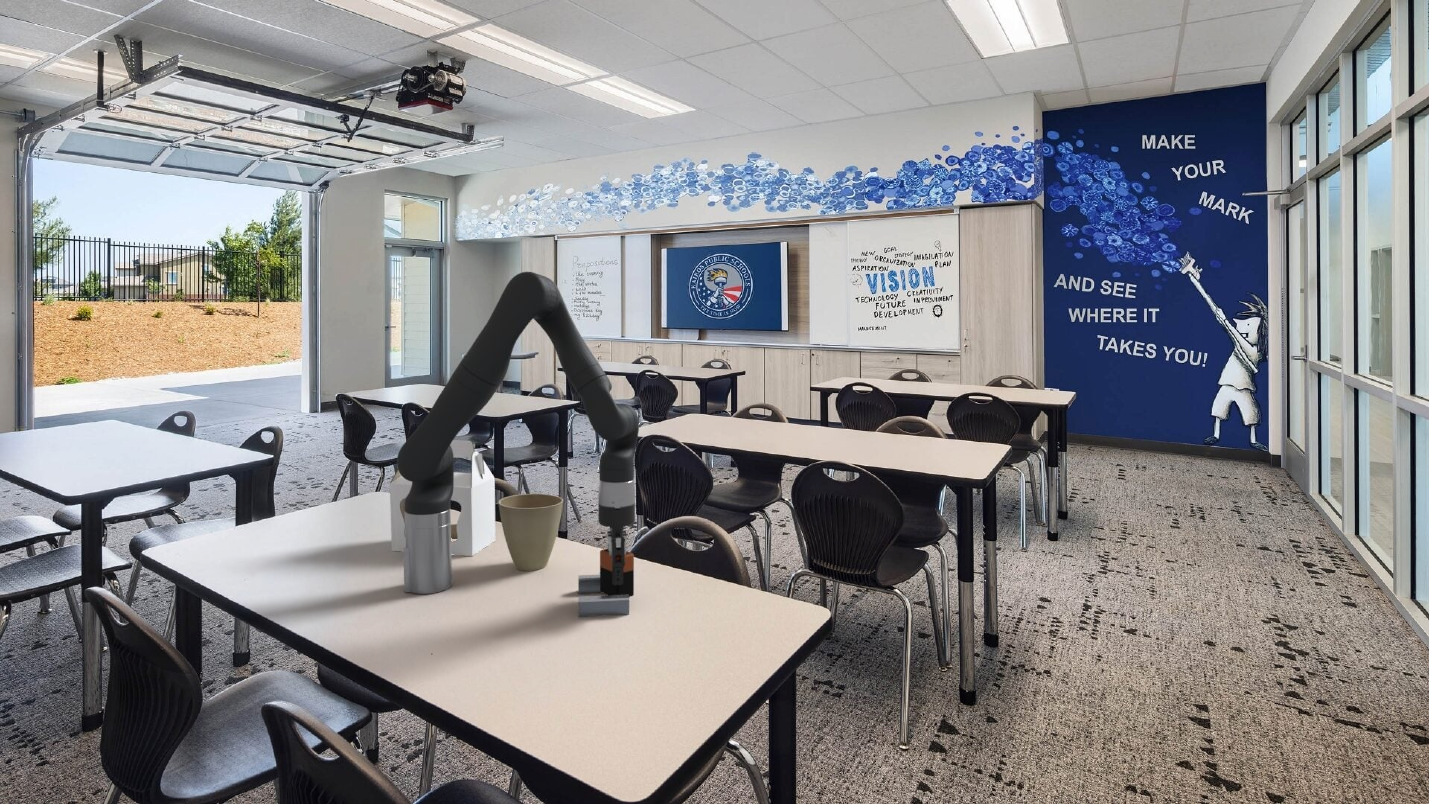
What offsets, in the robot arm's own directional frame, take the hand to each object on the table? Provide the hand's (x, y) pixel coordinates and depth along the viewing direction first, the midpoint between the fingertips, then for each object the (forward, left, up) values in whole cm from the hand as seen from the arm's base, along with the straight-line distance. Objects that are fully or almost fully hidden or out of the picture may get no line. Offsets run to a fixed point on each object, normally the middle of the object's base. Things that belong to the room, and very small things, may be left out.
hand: (616, 577), depth 157 cm
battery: (0, 0, -4) cm, 4 cm away
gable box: (-42, +45, -5) cm, 62 cm away
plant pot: (-19, +26, -5) cm, 33 cm away
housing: (-3, 0, -5) cm, 6 cm away
